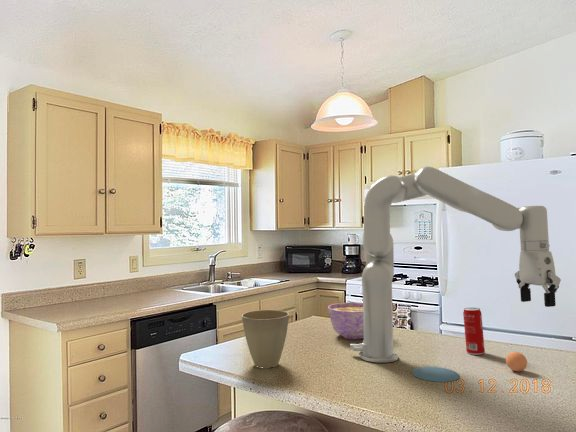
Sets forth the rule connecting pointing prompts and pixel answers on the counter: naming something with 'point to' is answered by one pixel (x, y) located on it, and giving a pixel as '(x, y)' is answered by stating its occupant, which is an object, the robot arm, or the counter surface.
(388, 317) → the robot arm
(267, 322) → the plant pot
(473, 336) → the beverage can
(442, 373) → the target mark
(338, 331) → the bowl of food
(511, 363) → the ball
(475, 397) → the counter surface
